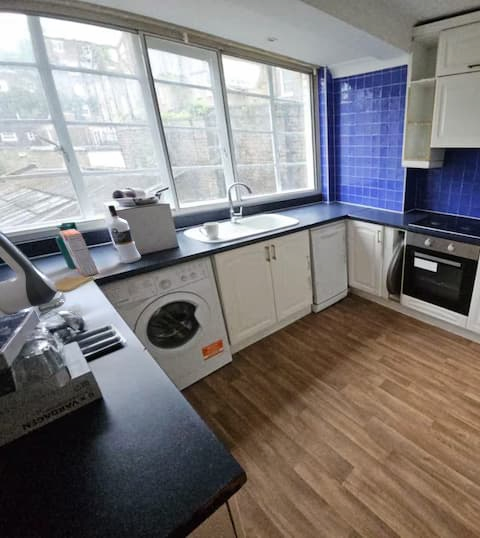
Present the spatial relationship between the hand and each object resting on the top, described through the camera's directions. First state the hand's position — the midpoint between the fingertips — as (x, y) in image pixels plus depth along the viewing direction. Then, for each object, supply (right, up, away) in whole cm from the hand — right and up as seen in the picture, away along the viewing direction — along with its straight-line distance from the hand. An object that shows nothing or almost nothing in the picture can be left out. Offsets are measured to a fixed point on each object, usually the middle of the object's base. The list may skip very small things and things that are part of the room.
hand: (27, 299), depth 104 cm
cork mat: (-14, +3, +29) cm, 32 cm away
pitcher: (-30, +13, +52) cm, 61 cm away
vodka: (-6, +15, +55) cm, 58 cm away
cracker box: (-18, +9, +42) cm, 47 cm away
